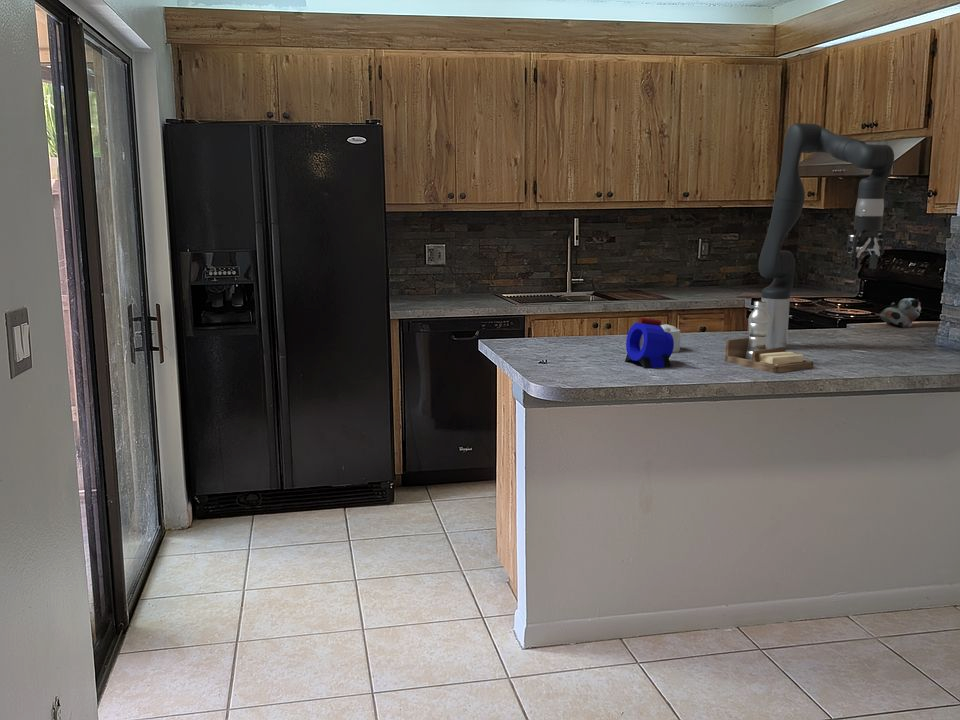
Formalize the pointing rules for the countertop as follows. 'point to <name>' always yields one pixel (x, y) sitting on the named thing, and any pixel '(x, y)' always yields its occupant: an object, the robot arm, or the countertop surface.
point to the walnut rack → (738, 356)
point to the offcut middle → (780, 364)
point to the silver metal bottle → (758, 328)
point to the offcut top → (780, 357)
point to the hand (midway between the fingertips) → (863, 269)
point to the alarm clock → (649, 344)
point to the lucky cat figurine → (902, 312)
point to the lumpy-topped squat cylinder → (674, 333)
